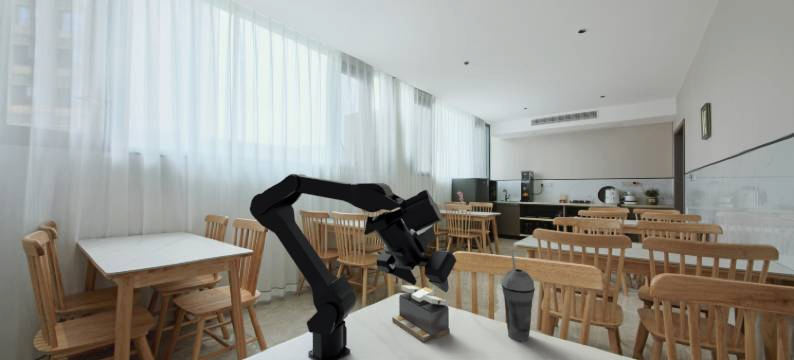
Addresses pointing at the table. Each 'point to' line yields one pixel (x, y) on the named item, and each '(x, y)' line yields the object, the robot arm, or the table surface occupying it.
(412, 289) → the rocker left
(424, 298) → the rocker right
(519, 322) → the beverage cup
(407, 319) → the switch unit
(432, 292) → the rocker mid
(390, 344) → the table surface
